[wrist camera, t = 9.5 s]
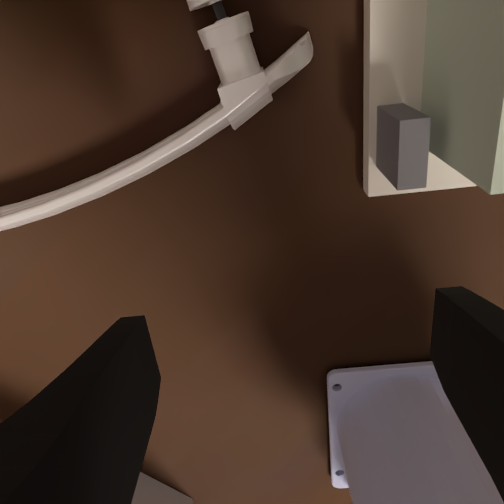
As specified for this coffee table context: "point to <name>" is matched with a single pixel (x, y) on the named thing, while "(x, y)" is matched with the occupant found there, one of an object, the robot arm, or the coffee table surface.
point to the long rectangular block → (466, 88)
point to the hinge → (157, 493)
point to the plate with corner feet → (398, 104)
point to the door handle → (227, 112)
